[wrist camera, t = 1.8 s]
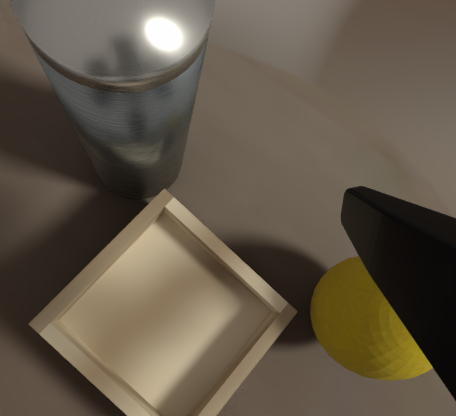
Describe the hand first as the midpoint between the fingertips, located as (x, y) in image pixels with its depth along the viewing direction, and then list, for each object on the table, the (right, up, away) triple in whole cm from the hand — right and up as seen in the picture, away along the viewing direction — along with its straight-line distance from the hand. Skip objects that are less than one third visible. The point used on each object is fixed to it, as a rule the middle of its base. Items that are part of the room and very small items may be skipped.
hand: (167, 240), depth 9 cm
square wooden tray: (-2, -5, +12) cm, 13 cm away
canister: (-4, +4, +13) cm, 14 cm away
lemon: (+7, -5, +14) cm, 16 cm away
